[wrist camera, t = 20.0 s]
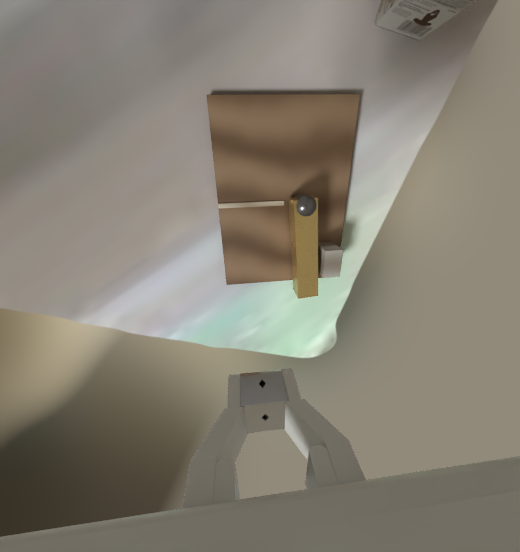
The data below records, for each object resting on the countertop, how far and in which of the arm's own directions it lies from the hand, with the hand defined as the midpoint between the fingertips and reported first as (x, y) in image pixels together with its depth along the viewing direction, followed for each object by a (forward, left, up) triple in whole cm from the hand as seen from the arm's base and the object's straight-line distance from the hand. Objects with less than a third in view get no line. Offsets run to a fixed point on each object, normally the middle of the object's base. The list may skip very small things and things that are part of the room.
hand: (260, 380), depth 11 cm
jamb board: (-5, +6, -25) cm, 26 cm away
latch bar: (+1, +9, -24) cm, 25 cm away
